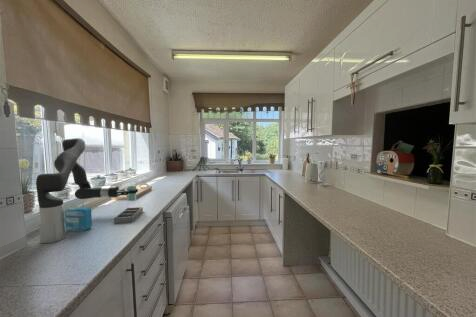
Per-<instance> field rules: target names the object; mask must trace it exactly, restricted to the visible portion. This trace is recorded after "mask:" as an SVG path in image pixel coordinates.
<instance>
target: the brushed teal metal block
mask: <svg viewBox="0 0 476 317" xmlns="http://www.w3.org/2000/svg"><path fill="white" fill-rule="evenodd" d="M127 188H128V190H136V189H137V184H129V185H128V186H127ZM127 196H128V202H129V201H131V202H132V201H136V200H137V192H136V193H135V194H128V195H127Z"/></svg>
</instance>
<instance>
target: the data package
mask: <svg viewBox="0 0 476 317" xmlns="http://www.w3.org/2000/svg"><path fill="white" fill-rule="evenodd" d="M92 217H93V216H92V208H91V207H89V206H88V207H87V206H86V207H85V206H84V207H81V206H80V207H77V206H76V207H70V208H68V209H65V210H64V227H65V231H68V232H69V231H74V232H75V231H76V232H79V231H80V232H83V231H87V230H89V229H91V227H93V219H92Z"/></svg>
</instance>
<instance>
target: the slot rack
mask: <svg viewBox="0 0 476 317" xmlns="http://www.w3.org/2000/svg"><path fill="white" fill-rule="evenodd" d="M143 208H144V207H143V206H141V207H139V206H137V207H135V206H134V207H126V208H125V209H124V210H122V211H121V212H120V213H119V214H117V215H116V216H114V217H113V224H126V223H127V224H129V223H134V221H135V220H137V219H138V218H139V216H140V215H142V214H143V213H144V212H143V211H144V209H143Z"/></svg>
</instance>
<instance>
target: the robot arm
mask: <svg viewBox="0 0 476 317" xmlns="http://www.w3.org/2000/svg"><path fill="white" fill-rule="evenodd" d="M62 149H63V152H61V153H59V154H58V155H57V157H56V158H55V160H54V163H53V166H54V168H55V169H56V171H58V172H53V173H41V174H38V175H37V177H36V179H35V187H36V194H37V203H38V208H39V211H38V212H39V225H38V230H39V244H54V243H56V242H58V241H61V240H64V239H65V237H66V228H65V210H64V199H63V198H61V197H58V196H55V195H52V194H51V193H58V192H61V191H64V190H65V189H66V186H67V183H68V180H69V178H70V175H71V173H72V177H73V181H74V184H75V185H76V186H77V185H78V187H79V188H78V189H76V191H75V192H74V197H75V198H77V199H79V200H88V199H89V200H90V199H94V198H107V199H108V198H110V199H111V198H118V197H119V196H120V197H121V196H128V194H135V193H136V194H137V193H138V192H139V190H138V188H136V190H128V187H124V188H123V187H121V188H119V186H117V185H115V186H113V185H110V186H107V185H106V186H96V187H91V185H90V183H89V181H88V178H87V172H86V170H85V167H83V166H82V165H81V164H80V163H79V162H78V159H79V157H81V155H82V154H83V152H84V151H85V150H86V141H85V140H84V139H83V138H79V137H78V138H77V137H76V138H67V139H64V140H63V141H62Z"/></svg>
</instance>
